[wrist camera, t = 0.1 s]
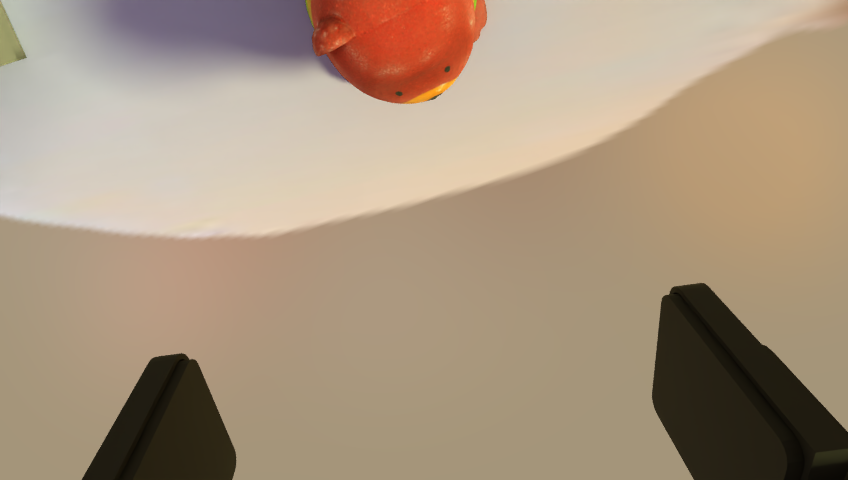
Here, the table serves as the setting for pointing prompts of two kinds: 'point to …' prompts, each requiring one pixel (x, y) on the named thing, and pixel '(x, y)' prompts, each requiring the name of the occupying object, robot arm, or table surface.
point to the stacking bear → (397, 43)
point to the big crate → (8, 41)
